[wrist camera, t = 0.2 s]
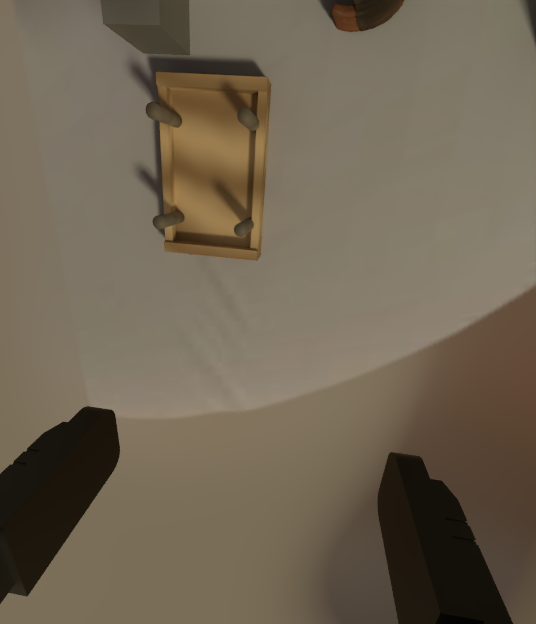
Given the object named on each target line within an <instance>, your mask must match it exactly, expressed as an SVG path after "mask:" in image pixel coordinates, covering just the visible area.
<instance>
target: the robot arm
mask: <svg viewBox="0 0 536 624" xmlns="http://www.w3.org/2000/svg"><path fill="white" fill-rule="evenodd" d="M119 454H120V446H119V439H118V432H117V425H116V418H115V413H114V411H112V410H109V409H102V408H95V407H89V406H87V407H84V408H82V409H81V410H80V411H79V412H78V413H77V414H76V415H75V416H74V417H73V418H72V419H71V420H70V421H69V422H62V423H60V424H59V425H57V426H55V427H53V428H52V429H50V430H48V431H46V432H45V433H44V434H42V435H41V436H40V437H39V438H38V439H37V440H36V441H35V442H34V443H33V444H31V445H30V447H28V448H27V451H26V452H23V453H22V454H21V455H20V456H19V457H18V458H17V459H16V460H15V461H14V463H13V464H12V465H9V466H8V467H7V468H6V469H5V470H4V471H3V472H2V473H1V474H0V604H1V602H2V601H3V599H4V598H5V597H6V595H7V594H8V593H14V594H18V595H23V596H28V595H29V593H30V592H31V590H32V589H33V588H34V586H35V585H36V583H37V581H38V580H39V579H40V577H41V576H42V574H43V573H44V571H45V570H46V569H47V567H48V566H49V564H50V563H51V561H52V560H53V558H54V557H55V555H56V554H57V553H58V551H59V550H60V548H61V547H62V545H63V544H64V542H65V541H66V539H67V538H68V536H69V535H70V533H71V532H72V531H73V529H74V528H75V526H76V525H77V523H78V522H79V520H80V519H81V518H82V516H83V515H84V513H85V512H86V510H87V509H88V507H89V506H90V504H91V503H92V501H93V500H94V499H95V497H96V496H97V494H98V493H99V491H100V490H101V488H102V487H103V485H104V484H105V482H106V481H107V479H108V478H109V477H110V475H111V474H112V472H113V471H114V468H115V467H116V465H117V462H118V459H119ZM378 516H379V522H380V526H381V532H382V538H383V542H384V548H385V554H386V559H387V564H388V569H389V575H390V579H391V585H392V591H393V596H394V601H395V606H396V612H397V617H398V622H399V624H513V623H512V621H511V618H510V616H509V614H508V612H507V609H506V607H505V605H504V602H503V600H502V598H501V596H500V593H499V591H498V589H497V587H496V584H495V582H494V580H493V578H492V575H491V573H490V571H489V569H488V566H487V564H486V562H485V560H484V557H483V555H482V553H481V551H480V548H479V546H478V545H476V539H475V537H474V535H473V533H472V530H471V528H470V526H468V524H467V522H468V521H467V519H466V517H465V515H464V512H463V510H462V508H461V506H460V503H459V501H458V500H457V498H456V497H455V496H454V495H453V494H452V493H451V491H450V490H449V489H448V488H447V486H446V485H445V484H444V483H443V482H442V481H440V480H433V479H430V478H429V475H428V472H427V470H426V467H425V465H424V462H423V460H422V458H421V457H420V456H414V455H407V454H401V453H394V452H391V453H390V454H389V456H388V459H387V463H386V466H385V470H384V473H383V477H382V481H381V484H380V488H379V493H378Z"/></svg>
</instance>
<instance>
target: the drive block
mask: <svg viewBox="0 0 536 624" xmlns="http://www.w3.org/2000/svg"><path fill="white" fill-rule="evenodd" d="M101 5H102V15H103V24H105V25H106V26H107V27H109V28H110V29H111V30H113V31H114V32H115V33H117V34H118V35H119V36H121V37H122V38H123V39H125V40H126V41H128V42H129V43H130V44H132V45H133V46H134V47H136V48H137V49H138V50H140V51H141V52H142V53H147V54H171V55H190V34H189V0H101Z"/></svg>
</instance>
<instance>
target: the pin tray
mask: <svg viewBox="0 0 536 624" xmlns="http://www.w3.org/2000/svg"><path fill="white" fill-rule="evenodd" d="M156 85H157V86H158V100H159V105H158V104H156V103H154V102H150V103H148V104H147V106H146V113H147V115H148V117H150V118H151V119H154V120H157V121H159V122H160V141H161V162H162V182H163V203H164V215H159V216H156V217H154V219H153V225H154V226H155V228H157V229H163V228H165V242H164V248H165V251H167V252H177V253H187V254H197V255H206V256H216V257H226V258H236V259H246V260H256V261H257V260H258V258H259V257H260V255H261V239H262V222H263V206H264V190H265V174H266V158H267V142H268V126H269V110H270V94H271V84H270V81H269V79H268V77H254V76H233V75H212V74H191V73H170V72H156Z"/></svg>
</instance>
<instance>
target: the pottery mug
mask: <svg viewBox="0 0 536 624" xmlns="http://www.w3.org/2000/svg"><path fill="white" fill-rule="evenodd" d="M403 2H404V0H354V4H355V5H341V4H337V3H336V4H334V5H333V7H332V15H333V17H334V21H335V25H336V28H337V29H340V30H342V31H349V32H355V31H356V32H357V31H365V30H368V29H373V28H375V27H377V26H379V25H381V24H383V23H385V22H386V21H388V20H389V19H390V18H391V17H392V16H393V15H394V14H395V13H396V12H397V11H398V10H399V8H400V7H401V6H402V4H403Z"/></svg>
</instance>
